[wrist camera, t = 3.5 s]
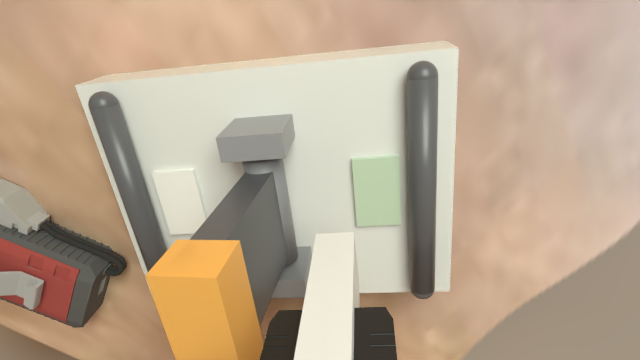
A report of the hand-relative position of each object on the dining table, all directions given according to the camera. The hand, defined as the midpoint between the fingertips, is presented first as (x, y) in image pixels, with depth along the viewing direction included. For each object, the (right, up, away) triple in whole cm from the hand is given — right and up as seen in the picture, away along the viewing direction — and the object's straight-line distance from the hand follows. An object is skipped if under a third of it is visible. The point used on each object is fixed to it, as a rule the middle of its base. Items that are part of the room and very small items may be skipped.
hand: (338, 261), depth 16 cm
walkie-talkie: (-24, 0, +13) cm, 28 cm away
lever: (-3, +2, +5) cm, 6 cm away
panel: (-3, +4, +9) cm, 10 cm away
